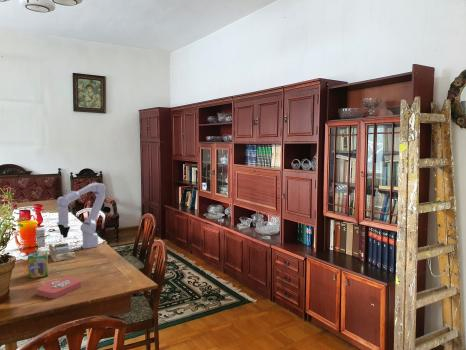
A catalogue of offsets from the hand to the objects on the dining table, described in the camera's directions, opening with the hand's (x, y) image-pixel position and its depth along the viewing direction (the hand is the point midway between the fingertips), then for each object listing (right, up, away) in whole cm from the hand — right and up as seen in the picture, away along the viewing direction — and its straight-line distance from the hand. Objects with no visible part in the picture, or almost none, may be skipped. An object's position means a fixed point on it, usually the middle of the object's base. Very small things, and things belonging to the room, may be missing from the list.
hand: (63, 236), depth 239 cm
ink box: (-24, -9, +13) cm, 29 cm away
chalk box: (+5, -15, -40) cm, 43 cm away
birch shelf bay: (+3, -11, -8) cm, 14 cm away
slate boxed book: (+4, -11, -10) cm, 15 cm away
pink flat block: (+24, -17, -59) cm, 65 cm away
